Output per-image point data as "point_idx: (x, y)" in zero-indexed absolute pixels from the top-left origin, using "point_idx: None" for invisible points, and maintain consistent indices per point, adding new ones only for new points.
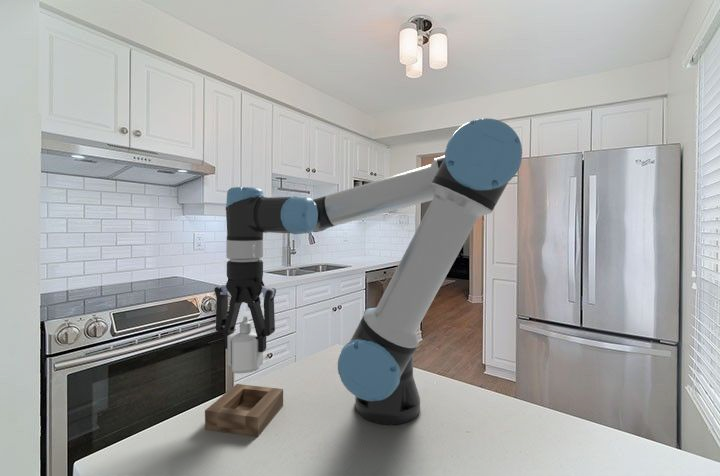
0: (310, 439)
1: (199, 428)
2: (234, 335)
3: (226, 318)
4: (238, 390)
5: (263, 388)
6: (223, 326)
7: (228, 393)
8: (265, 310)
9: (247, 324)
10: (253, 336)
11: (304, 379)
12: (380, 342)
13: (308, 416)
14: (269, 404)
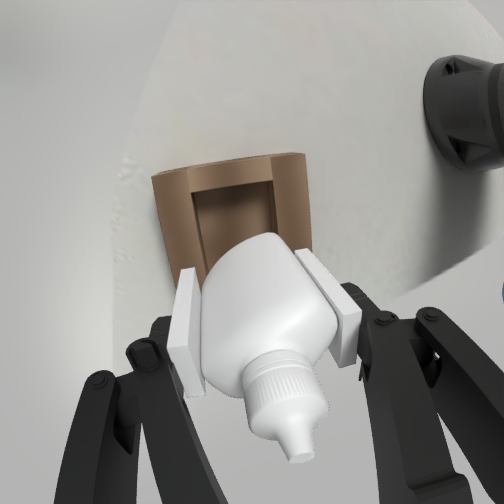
0: (387, 241)
1: (173, 291)
2: (219, 388)
3: (109, 430)
4: (185, 207)
5: (247, 169)
6: (133, 417)
7: (171, 232)
8: (473, 452)
9: (318, 424)
10: (324, 351)
11: (272, 18)
12: None
13: (362, 176)
14: (311, 237)
